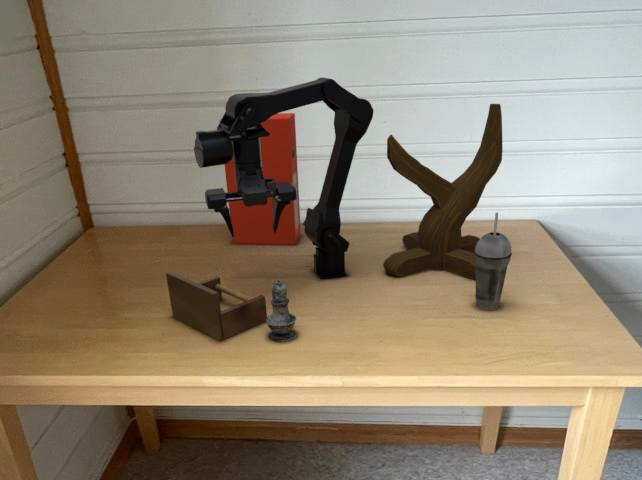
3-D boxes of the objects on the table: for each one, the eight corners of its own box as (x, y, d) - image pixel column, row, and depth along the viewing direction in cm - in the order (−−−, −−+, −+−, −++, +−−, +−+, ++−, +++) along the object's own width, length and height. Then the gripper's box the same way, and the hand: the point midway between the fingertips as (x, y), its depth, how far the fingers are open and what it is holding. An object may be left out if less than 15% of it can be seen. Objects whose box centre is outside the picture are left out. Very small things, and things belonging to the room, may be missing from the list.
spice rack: (219, 299, 141) (214, 256, 136) (267, 320, 130) (263, 275, 125) (172, 317, 134) (165, 272, 129) (219, 341, 123) (213, 294, 118)
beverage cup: (506, 300, 134) (518, 206, 124) (504, 315, 128) (516, 217, 118) (471, 296, 136) (479, 204, 126) (467, 311, 130) (475, 215, 120)
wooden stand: (458, 236, 170) (469, 95, 152) (523, 273, 146) (545, 111, 128) (357, 252, 163) (357, 106, 145) (409, 294, 139) (416, 126, 121)
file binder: (295, 245, 169) (288, 118, 153) (232, 244, 172) (219, 119, 156) (300, 235, 176) (294, 112, 160) (240, 234, 179) (228, 114, 163)
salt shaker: (261, 334, 125) (256, 277, 119) (287, 325, 128) (283, 270, 122) (277, 345, 121) (272, 287, 115) (303, 336, 124) (300, 279, 118)
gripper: (205, 174, 122) (215, 251, 130) (300, 164, 125) (304, 241, 133) (200, 162, 131) (209, 235, 139) (289, 153, 135) (292, 225, 142)
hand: (253, 234), depth 138 cm, fingers open, 9 cm apart
